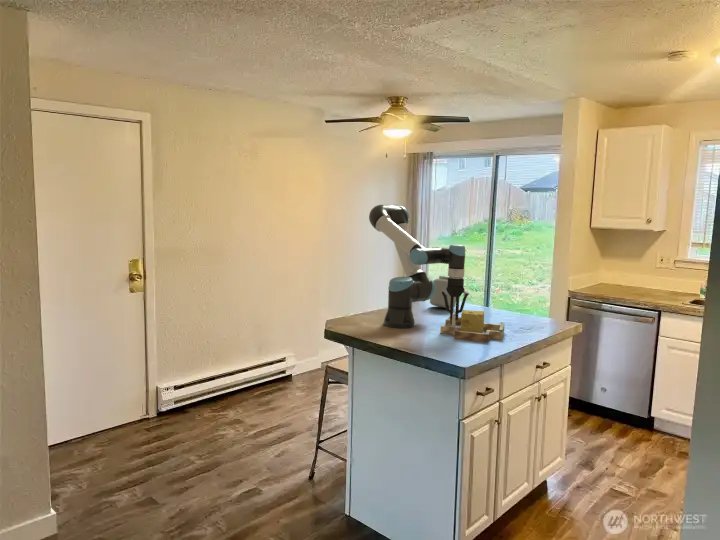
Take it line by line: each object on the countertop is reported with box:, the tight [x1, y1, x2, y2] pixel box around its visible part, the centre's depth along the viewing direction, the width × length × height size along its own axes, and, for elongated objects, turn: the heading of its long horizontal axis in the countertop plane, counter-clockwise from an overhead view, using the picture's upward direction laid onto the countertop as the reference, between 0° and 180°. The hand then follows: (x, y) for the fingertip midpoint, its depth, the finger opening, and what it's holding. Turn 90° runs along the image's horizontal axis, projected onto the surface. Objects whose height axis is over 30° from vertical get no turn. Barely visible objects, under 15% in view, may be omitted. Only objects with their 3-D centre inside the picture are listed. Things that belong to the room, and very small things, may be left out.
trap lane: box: [440, 316, 505, 343], centre depth 253 cm, size 28×31×4 cm
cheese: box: [460, 309, 485, 333], centre depth 253 cm, size 10×11×10 cm
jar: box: [429, 269, 456, 309], centre depth 310 cm, size 19×15×25 cm
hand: (453, 326), depth 255 cm, fingers closed
